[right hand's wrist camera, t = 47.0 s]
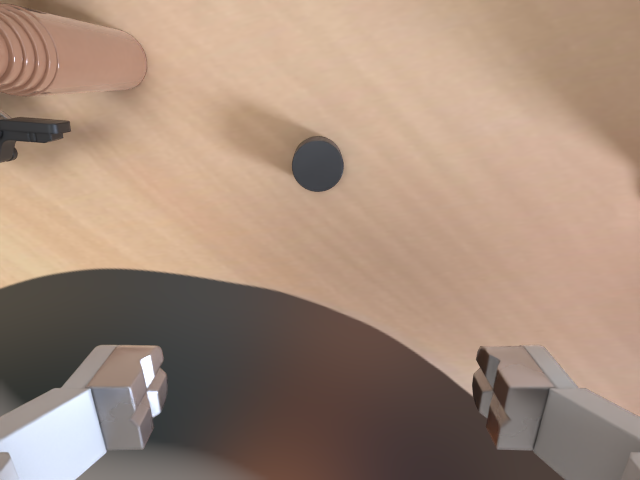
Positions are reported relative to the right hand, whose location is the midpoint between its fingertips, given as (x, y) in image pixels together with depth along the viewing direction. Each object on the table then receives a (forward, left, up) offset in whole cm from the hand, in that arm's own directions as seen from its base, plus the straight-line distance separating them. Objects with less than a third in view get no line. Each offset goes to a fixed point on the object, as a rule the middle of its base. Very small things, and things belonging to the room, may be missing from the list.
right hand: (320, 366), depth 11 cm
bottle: (+18, 0, -28) cm, 33 cm away
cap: (0, 0, -26) cm, 26 cm away
